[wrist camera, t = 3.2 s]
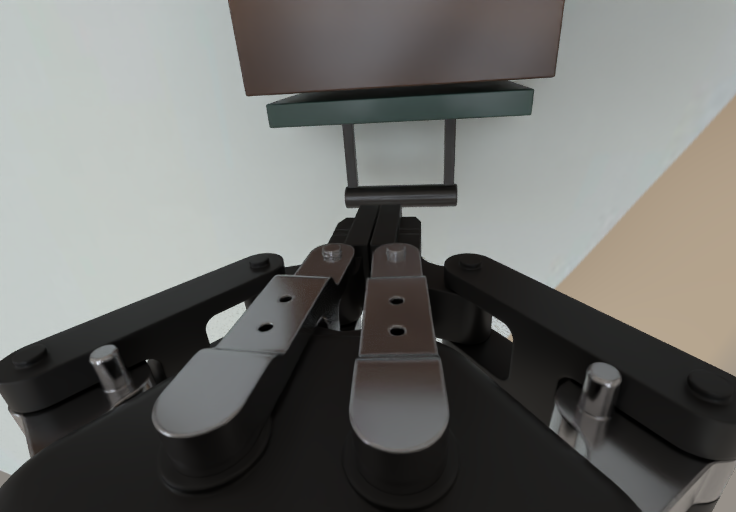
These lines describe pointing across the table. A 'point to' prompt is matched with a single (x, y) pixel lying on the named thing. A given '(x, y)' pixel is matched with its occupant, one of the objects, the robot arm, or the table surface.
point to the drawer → (399, 108)
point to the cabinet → (392, 42)
